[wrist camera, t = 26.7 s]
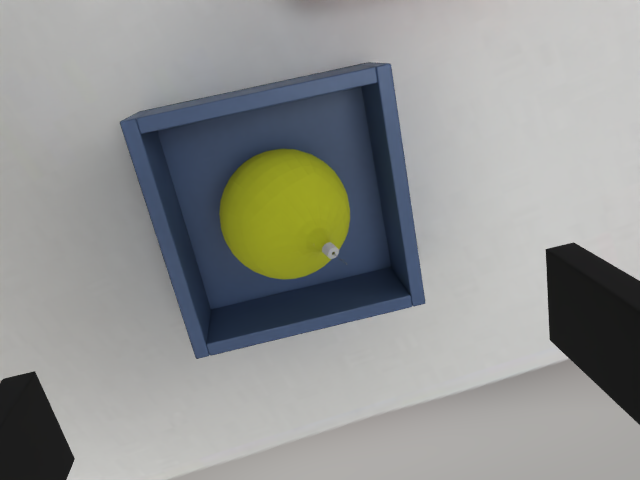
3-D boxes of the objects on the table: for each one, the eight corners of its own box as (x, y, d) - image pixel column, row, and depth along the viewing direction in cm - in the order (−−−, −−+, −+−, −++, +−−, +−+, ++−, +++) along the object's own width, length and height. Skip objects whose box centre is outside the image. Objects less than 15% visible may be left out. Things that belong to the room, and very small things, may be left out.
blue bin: (202, 319, 35) (196, 359, 31) (138, 111, 31) (118, 121, 26) (402, 271, 36) (426, 304, 31) (369, 62, 31) (391, 63, 27)
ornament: (355, 224, 34) (397, 289, 25) (253, 270, 34) (256, 352, 25) (311, 120, 32) (338, 146, 22) (201, 169, 32) (182, 217, 22)
